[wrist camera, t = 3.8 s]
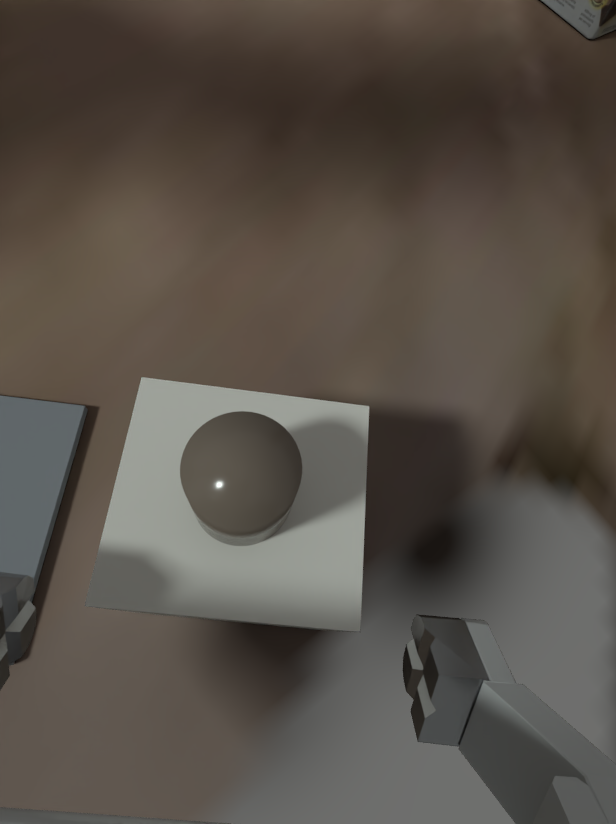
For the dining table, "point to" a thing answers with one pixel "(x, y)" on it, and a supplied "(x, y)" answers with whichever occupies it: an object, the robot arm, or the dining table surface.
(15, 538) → the felt mat
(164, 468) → the perfume bottle
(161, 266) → the dining table surface
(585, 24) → the coffee box
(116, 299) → the dining table surface
